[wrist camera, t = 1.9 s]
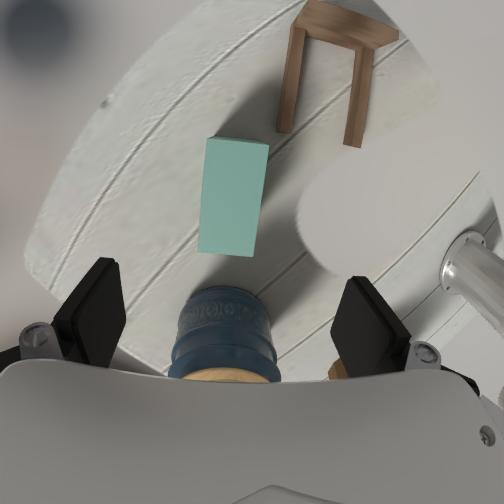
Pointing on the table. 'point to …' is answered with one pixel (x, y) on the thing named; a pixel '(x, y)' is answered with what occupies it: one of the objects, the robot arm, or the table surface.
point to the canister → (224, 339)
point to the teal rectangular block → (231, 195)
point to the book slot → (343, 34)
